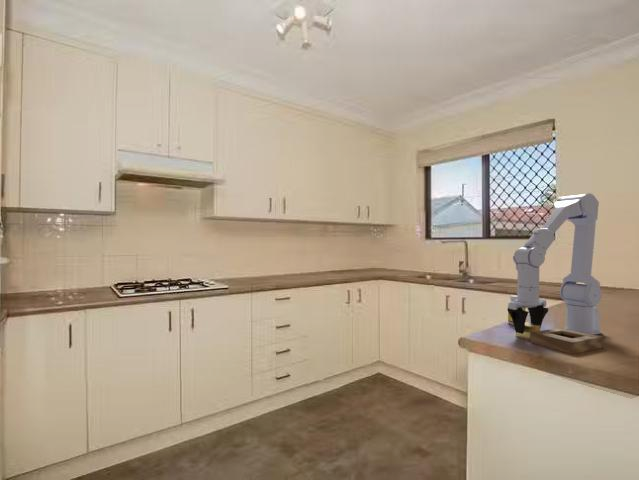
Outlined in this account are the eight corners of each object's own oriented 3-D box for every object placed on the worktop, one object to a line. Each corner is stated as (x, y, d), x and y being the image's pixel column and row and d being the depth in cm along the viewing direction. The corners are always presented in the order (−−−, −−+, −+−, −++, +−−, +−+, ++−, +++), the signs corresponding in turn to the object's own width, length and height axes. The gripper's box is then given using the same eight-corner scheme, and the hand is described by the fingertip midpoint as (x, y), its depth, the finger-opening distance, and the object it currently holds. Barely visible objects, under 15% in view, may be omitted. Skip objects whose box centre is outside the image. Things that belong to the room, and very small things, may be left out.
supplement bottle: (519, 322, 128) (519, 294, 128) (528, 325, 123) (529, 297, 123) (504, 322, 128) (505, 294, 128) (513, 325, 122) (513, 297, 122)
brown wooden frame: (561, 337, 108) (561, 327, 108) (603, 347, 98) (603, 336, 98) (531, 342, 102) (531, 332, 102) (572, 354, 92) (572, 342, 92)
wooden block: (525, 334, 111) (525, 321, 111) (539, 338, 107) (539, 325, 107) (515, 336, 109) (515, 323, 109) (529, 340, 105) (530, 326, 105)
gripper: (531, 284, 115) (530, 326, 115) (500, 286, 108) (499, 330, 108) (553, 286, 108) (552, 331, 108) (521, 289, 102) (521, 336, 102)
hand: (527, 331), depth 108 cm, fingers open, 7 cm apart
